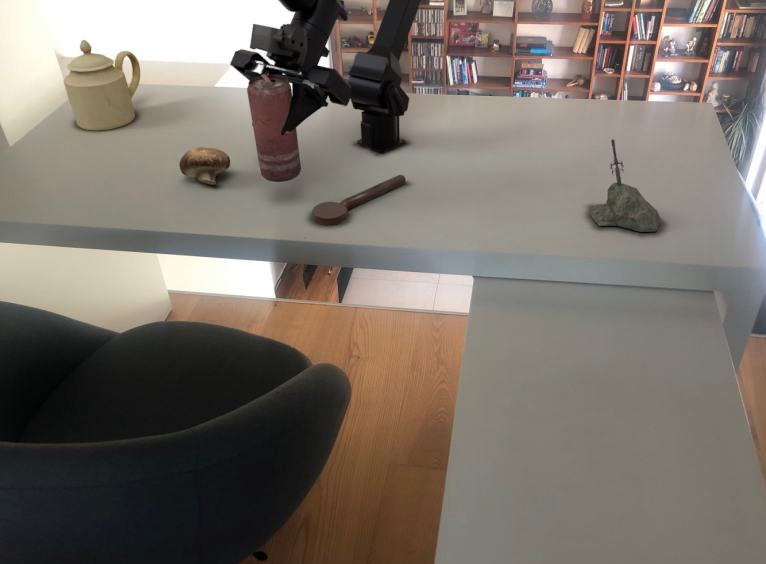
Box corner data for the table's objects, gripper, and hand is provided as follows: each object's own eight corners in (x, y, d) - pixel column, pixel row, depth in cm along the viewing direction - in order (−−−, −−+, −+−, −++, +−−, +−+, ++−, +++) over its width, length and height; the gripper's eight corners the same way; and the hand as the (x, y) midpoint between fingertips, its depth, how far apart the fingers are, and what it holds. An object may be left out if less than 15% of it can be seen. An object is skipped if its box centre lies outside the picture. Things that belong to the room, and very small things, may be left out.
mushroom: (214, 177, 108) (205, 138, 107) (175, 192, 111) (165, 153, 110) (244, 181, 115) (235, 144, 114) (206, 194, 118) (197, 158, 118)
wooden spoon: (393, 177, 114) (392, 168, 113) (415, 187, 111) (415, 178, 110) (305, 217, 104) (304, 207, 103) (328, 229, 101) (327, 219, 100)
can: (289, 161, 108) (277, 69, 100) (308, 175, 104) (297, 81, 95) (254, 171, 106) (238, 78, 97) (271, 186, 102) (256, 91, 93)
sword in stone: (660, 210, 104) (680, 133, 97) (660, 236, 98) (681, 156, 91) (592, 202, 106) (606, 126, 99) (588, 227, 101) (602, 148, 93)
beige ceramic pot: (99, 102, 143) (77, 25, 134) (151, 103, 143) (132, 25, 133) (66, 130, 132) (39, 47, 122) (122, 131, 131) (99, 48, 122)
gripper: (227, -12, 97) (185, 92, 97) (332, 5, 88) (286, 119, 88) (273, 34, 107) (234, 127, 107) (371, 53, 98) (329, 154, 98)
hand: (268, 131), depth 100 cm, fingers closed on can, 5 cm apart
